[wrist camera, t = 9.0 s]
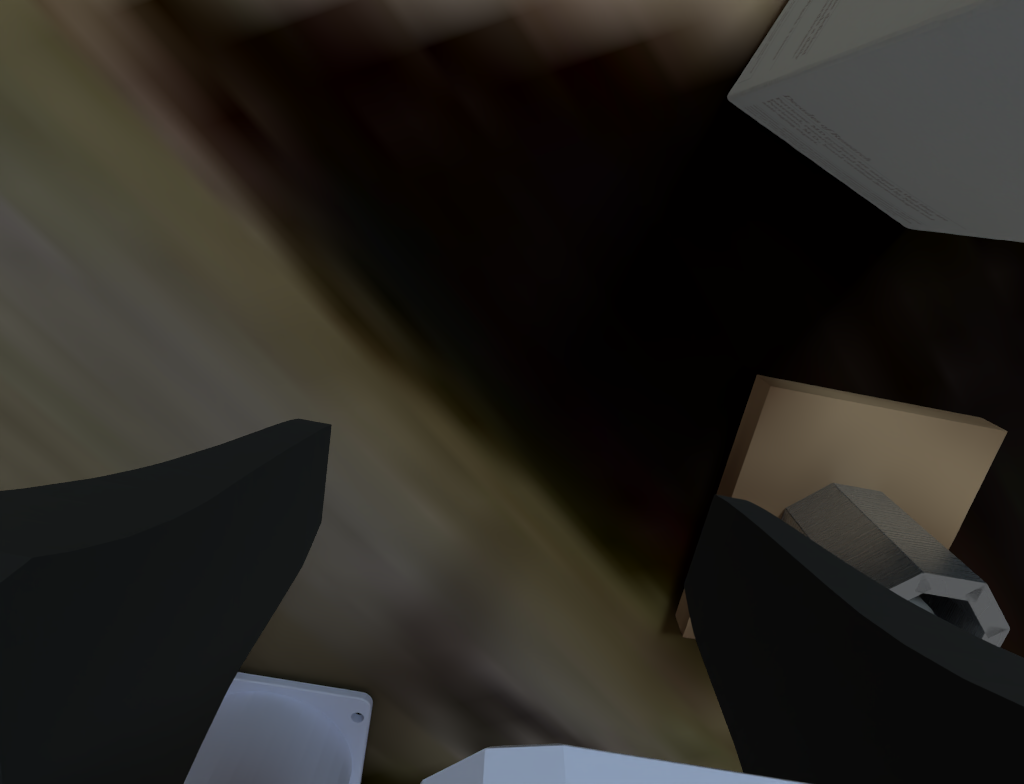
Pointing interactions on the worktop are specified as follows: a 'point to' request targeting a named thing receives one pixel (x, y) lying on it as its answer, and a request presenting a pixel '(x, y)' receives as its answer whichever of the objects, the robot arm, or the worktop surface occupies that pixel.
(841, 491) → the tube
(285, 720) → the robot arm
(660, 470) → the worktop surface
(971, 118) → the supplement box
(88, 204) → the worktop surface
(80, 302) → the worktop surface
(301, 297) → the worktop surface
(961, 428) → the shaft block
